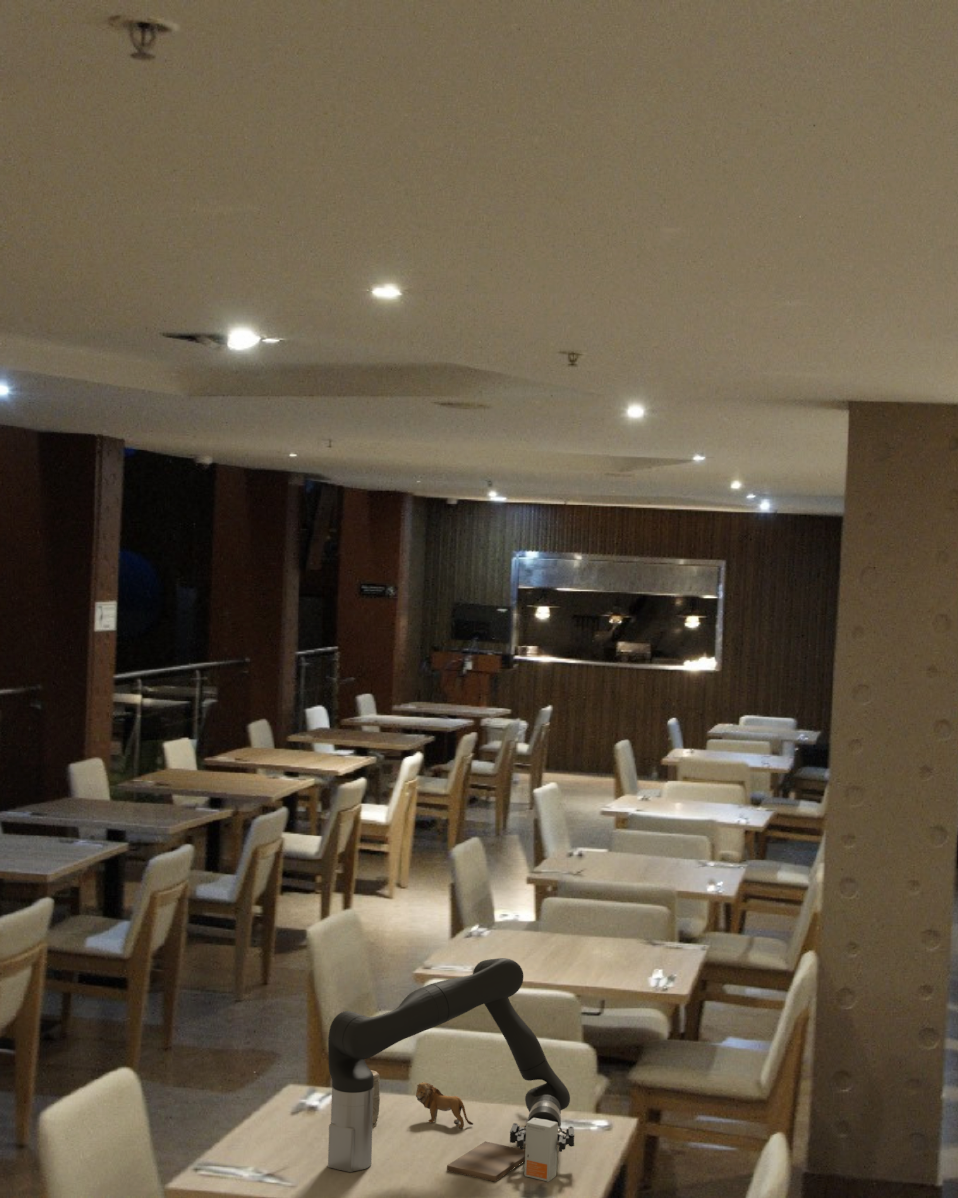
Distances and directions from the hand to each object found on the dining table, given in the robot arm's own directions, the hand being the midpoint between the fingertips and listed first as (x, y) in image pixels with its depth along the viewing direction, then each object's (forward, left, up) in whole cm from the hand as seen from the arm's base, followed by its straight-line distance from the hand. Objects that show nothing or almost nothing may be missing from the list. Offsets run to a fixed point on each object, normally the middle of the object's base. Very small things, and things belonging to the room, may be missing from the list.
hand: (541, 1146), depth 342 cm
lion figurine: (+20, +36, -7) cm, 42 cm away
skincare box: (+1, 0, -7) cm, 7 cm away
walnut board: (+2, +13, -7) cm, 15 cm away
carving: (+10, +51, -7) cm, 53 cm away
